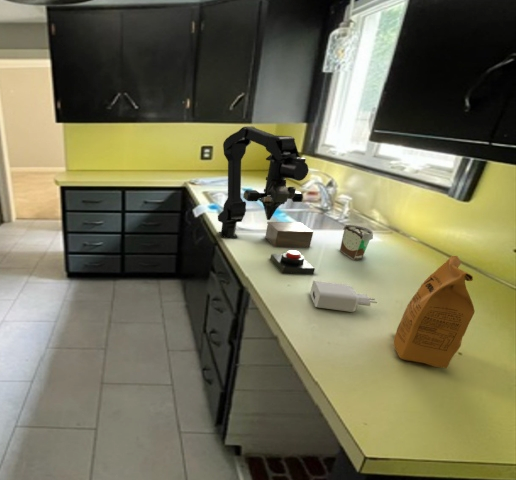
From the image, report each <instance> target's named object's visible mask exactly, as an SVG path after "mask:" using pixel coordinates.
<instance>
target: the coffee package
mask: <svg viewBox="0 0 516 480" xmlns="http://www.w3.org/2000/svg"><path fill="white" fill-rule="evenodd" d="M461 264H462V260H461V259H460V258H459V257H458V255H451V256H450V257H449V258H448V259H447V260H446V261H445V262H443V264H441V265H440V266H439V267H438V268H437V269H436V270H435V271H433V273H431V274H430V275H429V276H428V277H427V278H426V279H425V280H424V282H423V283H421V285H420V286H419V288H418V289H417V291H416V292H415V294H414V295H413V297H412V298H411V299H410V301H409V302H408V304H407V305H406V308H405V310H404V313H403V314H402V317H401V319H400V322H399V323H398V326H397V328H396V332H395V334H394V336H393V346H394V350H395V351H396V353H397V355H398V357H399V358H400V359H402V360H404V361H409V362H414V363H415V362H416V363H423V364H426V365H428V366H432V367H435V368H443V369H447V368H448V367H449V365H450V362H451V361H452V359H453V358H454V356H455V355H456V353H457V352H459V349H460V348H461V346H462V343H463V337H464V336H465V334H466V332H467V329H468V327H469V325H470V323H471V320H472V319H473V317H474V315H475V306H474V303H473V301H472V299H471V296H470V293H469V291H468V288H467V285H466V281H467V282H472V281H473V280H474V276H473V275H472V274H471V273H469V272H467V271H466V270H463V269H461V268H459V267H460V266H461Z"/></svg>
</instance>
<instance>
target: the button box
mask: <svg viewBox="0 0 516 480" xmlns="http://www.w3.org/2000/svg"><path fill="white" fill-rule="evenodd" d="M287 252H288V251H286V252H282V254H281V253H270V258H269V260H270V262H272V264H273V265H274V266H275V267H276V268H277V269H278V270H279V271H280V273H281V274H283V275H284V274H285V275H314V274H315V271H316V268H315V267H314V266H313V265H312V264H311V263H310V262H309V261H307V260H306V259H305V258H306V257H305V256H304V255H303V254H300V258H298V259H294V258H289V257H287Z"/></svg>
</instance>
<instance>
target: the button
mask: <svg viewBox="0 0 516 480" xmlns="http://www.w3.org/2000/svg"><path fill="white" fill-rule="evenodd" d="M286 252H287V257H289V258H294V259H298V258H300V254H301V252H300V251H299V250H295V249H290V250H287V251H286ZM301 255H302V254H301Z"/></svg>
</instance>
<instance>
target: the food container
mask: <svg viewBox="0 0 516 480" xmlns="http://www.w3.org/2000/svg"><path fill="white" fill-rule="evenodd" d="M373 239H374V233H373V230H371V229H370V228H367V227H365V226H364V227H363V226H359V225H355V224H354V225H353V224H345V225H344V227H343V234H342V238H341V243H340V248H339V252H341V253H342V254H344V255H345V256H347V257H348V258H350V259H351V260H353V261H359V260H362V259H363V257H364V254H365V253H366V250H367V247H368V245H369V243H370V241H371V240H373Z"/></svg>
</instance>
